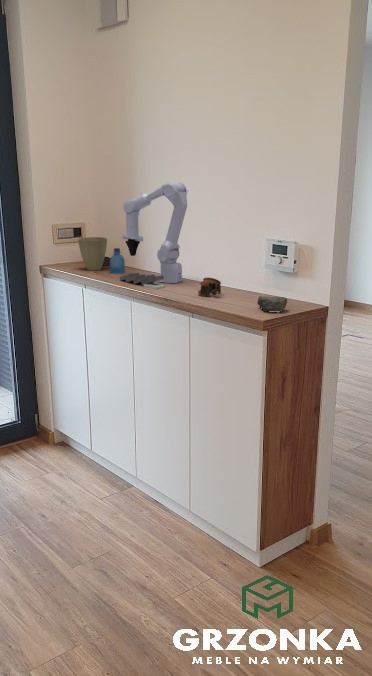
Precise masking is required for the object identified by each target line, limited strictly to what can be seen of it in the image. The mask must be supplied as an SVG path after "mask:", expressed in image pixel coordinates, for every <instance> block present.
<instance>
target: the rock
mask: <svg viewBox="0 0 372 676" xmlns="http://www.w3.org/2000/svg"><path fill="white" fill-rule="evenodd" d="M257 298H258V299H257V305H258V306H259V309H261V308H262V309H263V310H262V309H261V310H262V311H264V310H267V311H281V310H283V309H284V310H285V308H286V306H287V304H288V298H286V297H283V296H275V297H274V296H272V297H271V296H261V295H260V296H259V297H257ZM284 310H283V311H284ZM281 312H282V311H281Z"/></svg>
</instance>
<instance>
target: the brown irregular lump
mask: <svg viewBox="0 0 372 676" xmlns="http://www.w3.org/2000/svg"><path fill="white" fill-rule="evenodd" d="M221 284H222V282H221V281H220V280H218V279H217V278H213V277H204V278H203V279H202V281H201V282H200V283H199V285H200V289H199V290H197V291H198V293H197V294H198V295H197V296H198V297H200V296H202V297H206V298H210V295H212V296H217V294H218V295H221V293H222V290H221V288H222V286H221Z"/></svg>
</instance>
